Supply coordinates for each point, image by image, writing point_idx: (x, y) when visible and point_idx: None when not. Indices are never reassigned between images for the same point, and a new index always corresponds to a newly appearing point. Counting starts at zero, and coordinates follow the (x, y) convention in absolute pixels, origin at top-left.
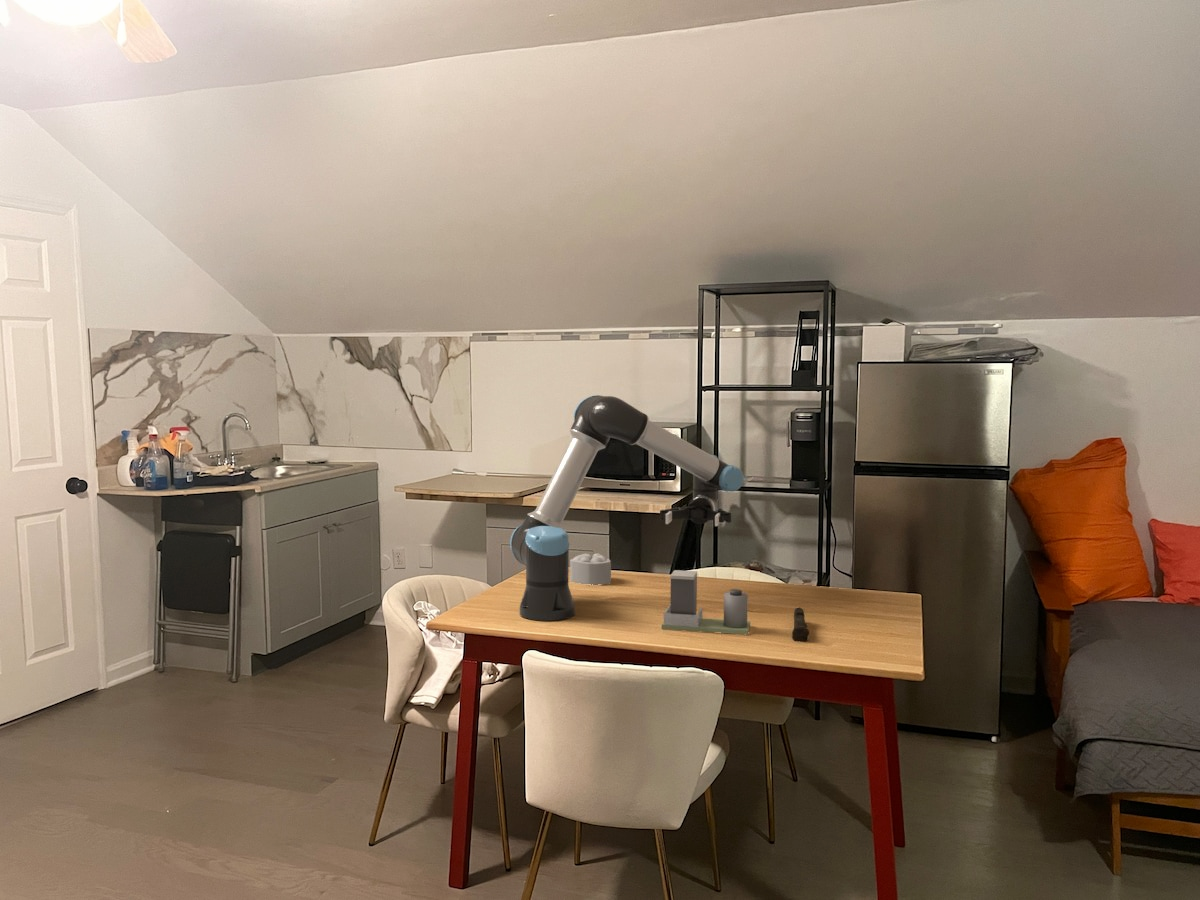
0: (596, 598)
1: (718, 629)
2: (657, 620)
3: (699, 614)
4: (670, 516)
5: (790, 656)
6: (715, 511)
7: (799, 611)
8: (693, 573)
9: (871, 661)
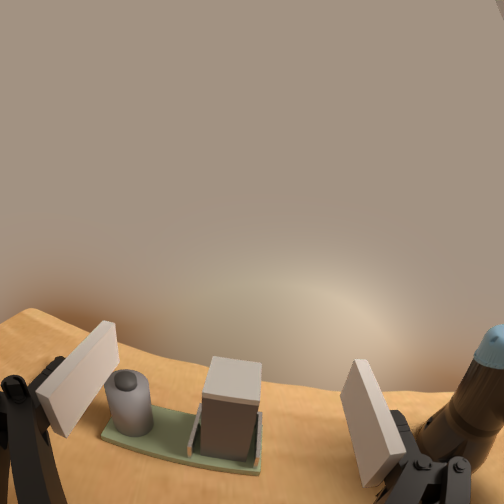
0: None
1: (166, 409)
2: (277, 472)
3: (197, 412)
4: (364, 424)
5: None
6: (19, 481)
7: None
8: (211, 376)
9: (42, 322)
